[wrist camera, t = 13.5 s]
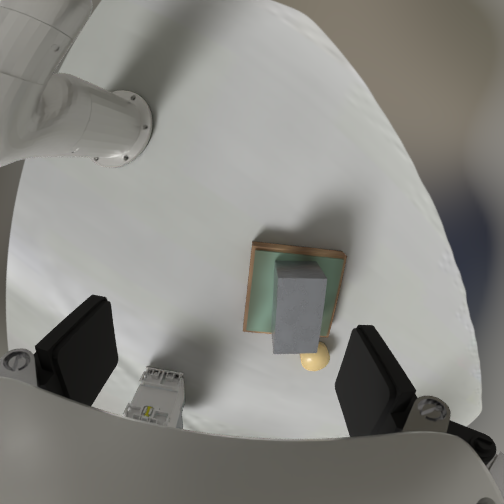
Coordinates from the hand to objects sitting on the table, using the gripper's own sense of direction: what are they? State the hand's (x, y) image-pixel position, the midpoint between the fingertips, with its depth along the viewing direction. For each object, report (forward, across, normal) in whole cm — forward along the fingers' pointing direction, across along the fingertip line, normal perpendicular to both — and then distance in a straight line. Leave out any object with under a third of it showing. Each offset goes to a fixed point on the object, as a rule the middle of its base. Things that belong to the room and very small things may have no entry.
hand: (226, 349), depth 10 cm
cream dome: (+34, -14, +23) cm, 43 cm away
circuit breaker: (+34, +13, +38) cm, 52 cm away
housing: (+30, -8, +11) cm, 33 cm away
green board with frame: (+33, -8, +11) cm, 36 cm away
